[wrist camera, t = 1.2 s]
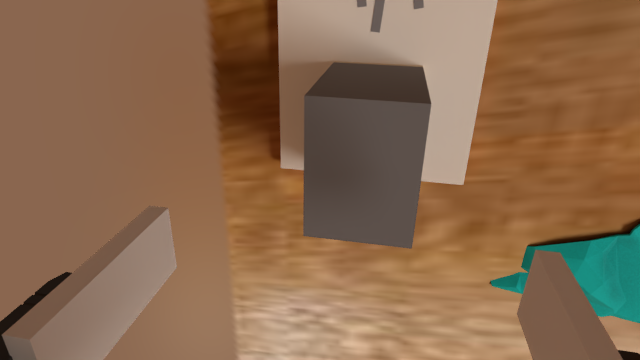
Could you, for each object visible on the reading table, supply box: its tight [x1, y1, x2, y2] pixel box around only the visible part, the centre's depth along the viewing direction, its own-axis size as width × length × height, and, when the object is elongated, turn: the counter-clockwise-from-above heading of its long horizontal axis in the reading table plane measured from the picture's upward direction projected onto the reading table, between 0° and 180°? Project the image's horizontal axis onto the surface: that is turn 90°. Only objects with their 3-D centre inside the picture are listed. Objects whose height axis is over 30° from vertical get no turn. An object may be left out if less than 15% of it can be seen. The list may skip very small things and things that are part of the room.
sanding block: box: [304, 61, 431, 248], centre depth 26 cm, size 8×6×10 cm
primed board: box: [278, 0, 497, 185], centre depth 28 cm, size 22×14×1 cm, turn 179°
